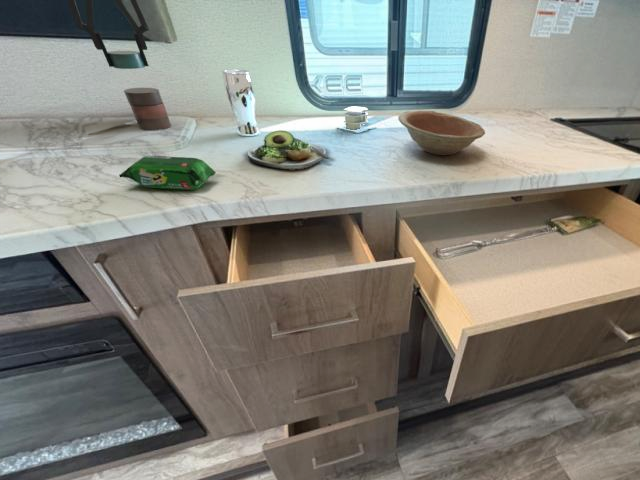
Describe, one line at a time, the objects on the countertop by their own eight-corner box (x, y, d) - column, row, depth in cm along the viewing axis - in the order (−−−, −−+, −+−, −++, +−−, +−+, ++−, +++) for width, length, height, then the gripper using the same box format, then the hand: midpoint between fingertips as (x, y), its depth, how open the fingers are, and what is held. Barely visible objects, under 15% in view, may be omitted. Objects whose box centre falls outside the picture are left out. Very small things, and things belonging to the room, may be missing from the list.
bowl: (458, 172, 82) (464, 138, 77) (380, 151, 91) (380, 118, 86) (492, 150, 98) (499, 120, 93) (422, 133, 107) (425, 105, 102)
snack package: (144, 177, 70) (132, 151, 67) (220, 179, 71) (212, 154, 68) (124, 191, 65) (109, 164, 61) (206, 194, 66) (197, 167, 62)
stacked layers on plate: (358, 134, 102) (358, 114, 99) (335, 128, 105) (334, 109, 102) (376, 127, 109) (376, 108, 105) (354, 122, 112) (353, 104, 109)
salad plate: (346, 155, 87) (345, 136, 84) (306, 178, 74) (303, 157, 71) (285, 142, 92) (282, 124, 89) (238, 162, 79) (233, 141, 76)
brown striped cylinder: (131, 128, 94) (115, 91, 88) (153, 121, 100) (139, 86, 94) (158, 131, 93) (143, 94, 87) (178, 124, 99) (166, 89, 93)
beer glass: (231, 134, 95) (214, 71, 85) (246, 128, 100) (233, 68, 90) (251, 138, 93) (237, 74, 84) (266, 132, 99) (255, 71, 89)
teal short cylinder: (106, 67, 84) (99, 52, 82) (128, 64, 89) (122, 50, 87) (130, 69, 83) (124, 54, 81) (151, 66, 88) (146, 52, 86)
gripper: (11, -76, 64) (80, 68, 79) (133, -60, 73) (174, 67, 88) (16, -72, 69) (81, 64, 84) (131, -57, 77) (171, 63, 93)
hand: (129, 65), depth 86 cm, fingers closed on teal short cylinder, 7 cm apart
